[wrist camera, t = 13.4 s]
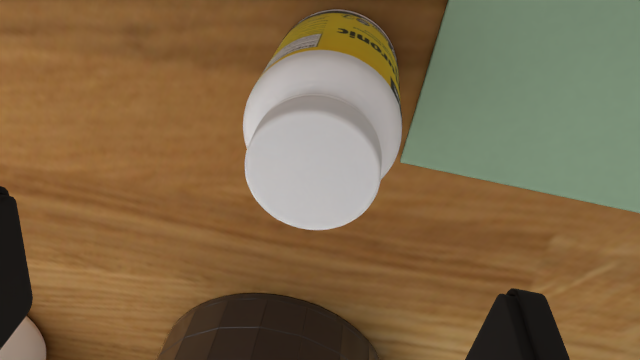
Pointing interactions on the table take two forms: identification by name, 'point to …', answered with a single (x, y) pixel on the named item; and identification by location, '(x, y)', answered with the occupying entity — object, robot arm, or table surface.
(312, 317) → the pan
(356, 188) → the supplement bottle
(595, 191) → the cloth
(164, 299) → the table surface
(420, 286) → the table surface
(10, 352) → the mug
